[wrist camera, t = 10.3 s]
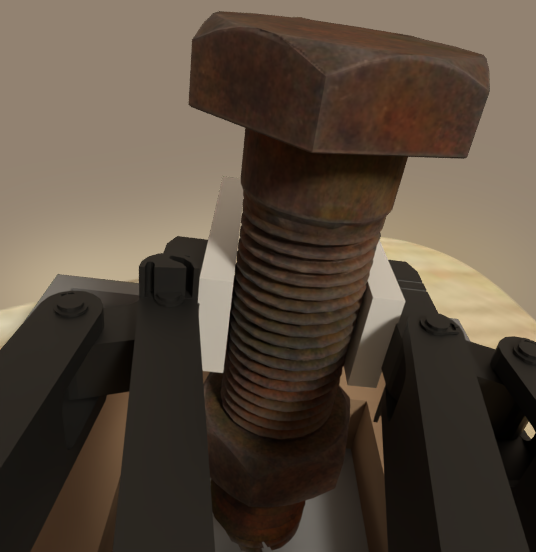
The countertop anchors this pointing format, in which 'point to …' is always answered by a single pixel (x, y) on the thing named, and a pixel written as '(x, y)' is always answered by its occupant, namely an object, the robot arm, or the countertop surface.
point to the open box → (317, 511)
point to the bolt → (310, 234)
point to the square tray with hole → (108, 460)
